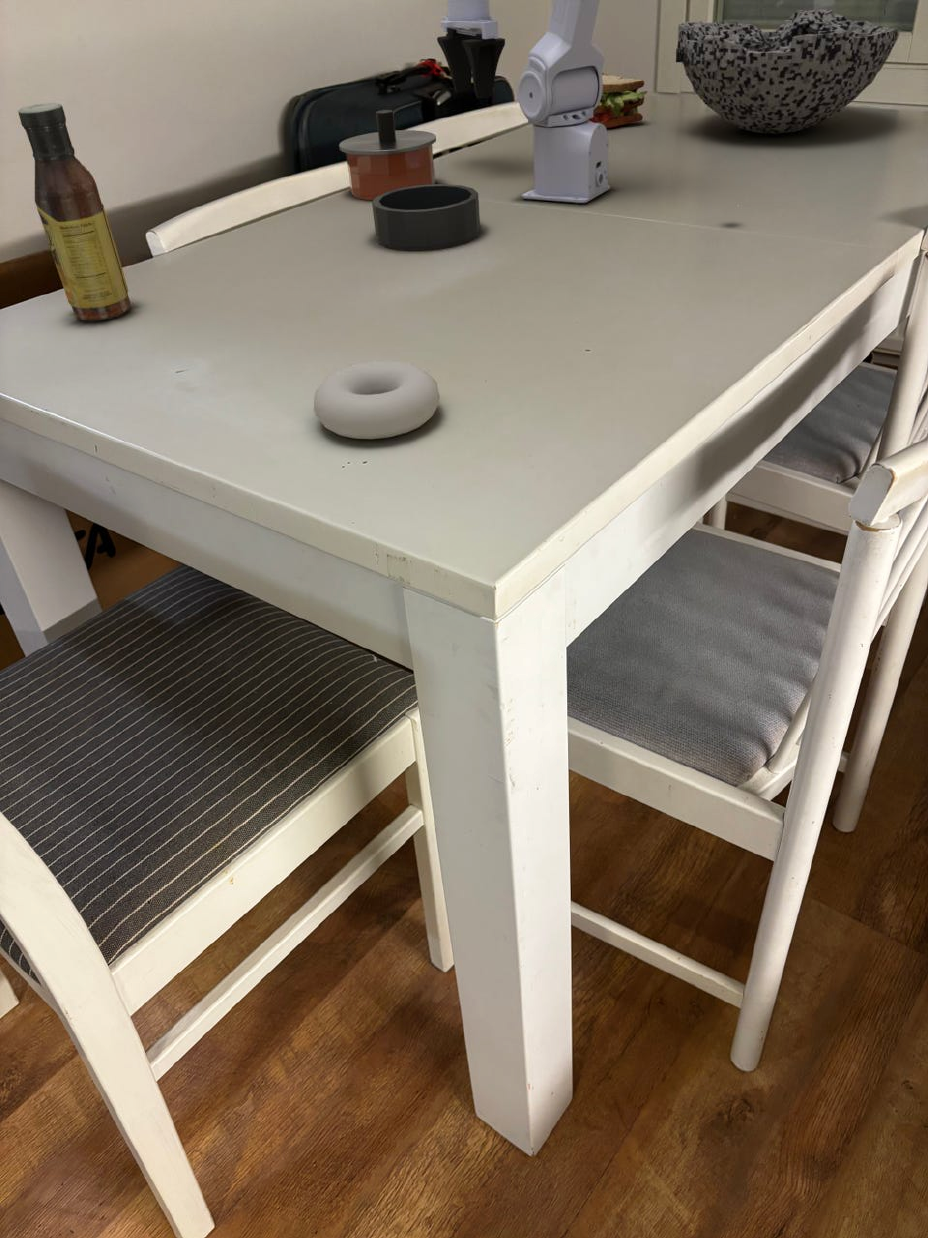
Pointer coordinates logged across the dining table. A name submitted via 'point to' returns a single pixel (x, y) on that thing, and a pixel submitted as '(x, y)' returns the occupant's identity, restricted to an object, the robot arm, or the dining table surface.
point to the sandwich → (619, 101)
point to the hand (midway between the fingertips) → (473, 94)
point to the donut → (376, 399)
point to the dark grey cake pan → (426, 217)
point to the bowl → (783, 67)
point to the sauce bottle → (74, 218)
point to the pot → (389, 172)
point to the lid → (387, 139)
